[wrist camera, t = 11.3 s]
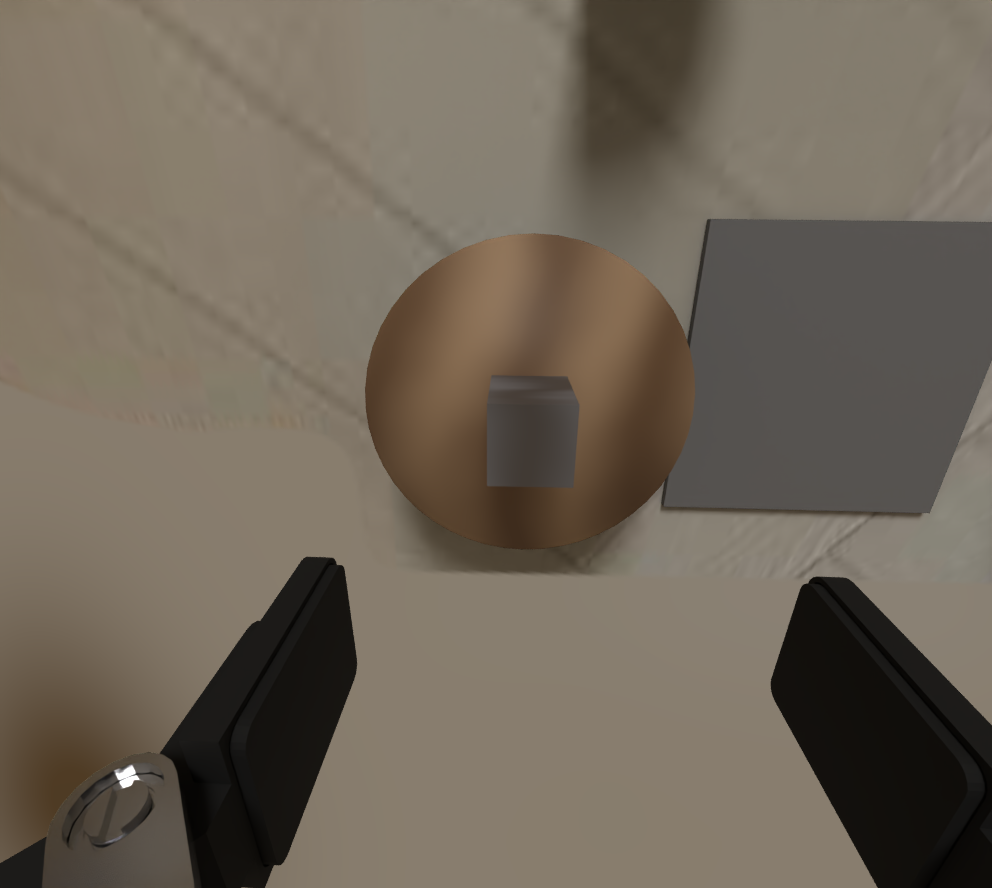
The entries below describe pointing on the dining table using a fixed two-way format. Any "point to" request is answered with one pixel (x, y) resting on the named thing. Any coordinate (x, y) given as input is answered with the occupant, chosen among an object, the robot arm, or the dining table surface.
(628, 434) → the lid
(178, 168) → the dining table surface
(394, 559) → the dining table surface
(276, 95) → the dining table surface
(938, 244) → the mat
